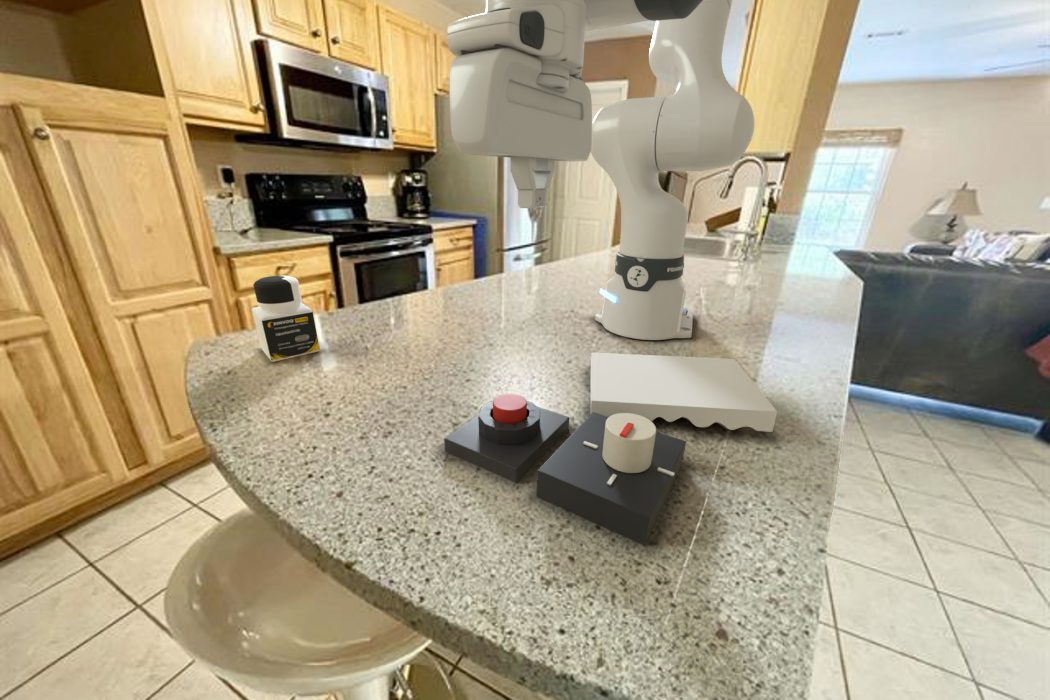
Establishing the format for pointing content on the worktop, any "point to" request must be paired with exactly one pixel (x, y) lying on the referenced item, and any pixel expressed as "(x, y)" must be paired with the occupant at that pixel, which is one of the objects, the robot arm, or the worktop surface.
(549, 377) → the worktop surface
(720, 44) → the robot arm
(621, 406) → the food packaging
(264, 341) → the medicine bottle
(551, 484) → the control panel
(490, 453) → the box
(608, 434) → the dial
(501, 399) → the power button
